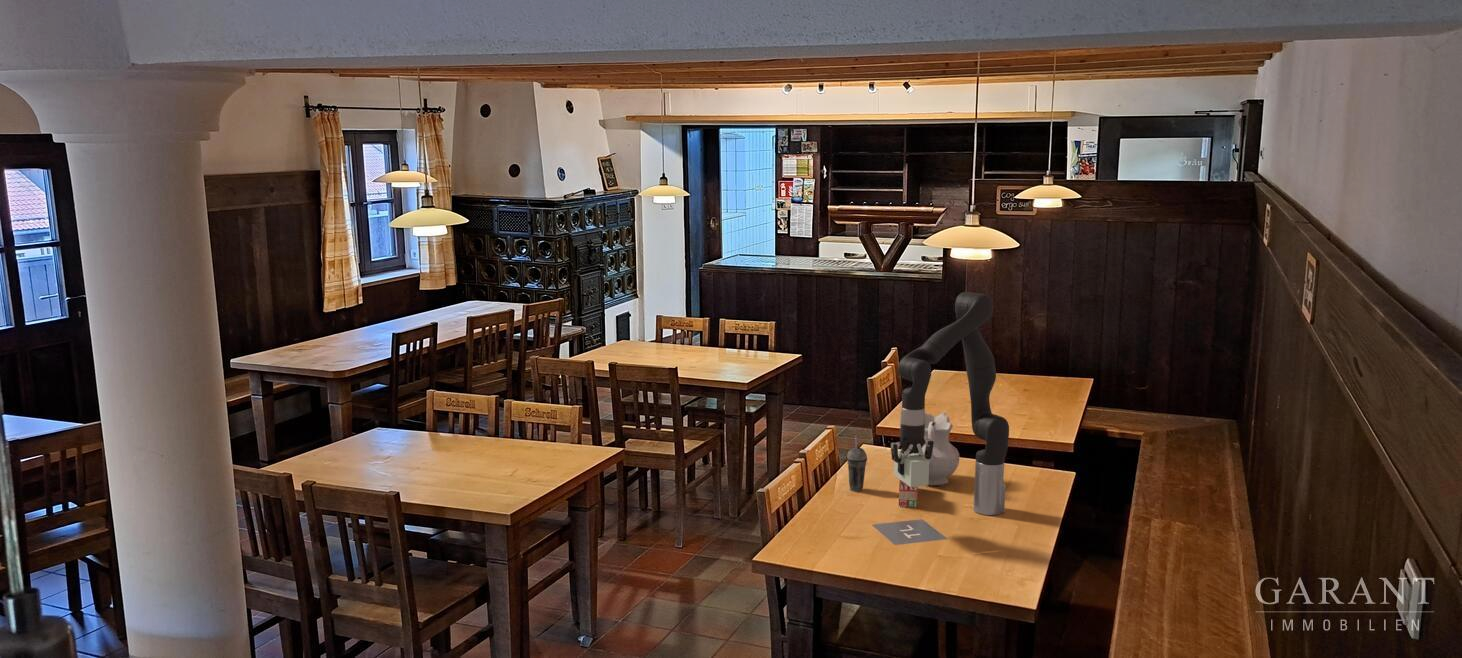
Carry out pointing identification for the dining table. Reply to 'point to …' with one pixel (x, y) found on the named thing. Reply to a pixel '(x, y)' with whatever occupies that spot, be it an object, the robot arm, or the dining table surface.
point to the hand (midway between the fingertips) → (911, 473)
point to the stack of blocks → (907, 495)
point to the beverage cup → (856, 467)
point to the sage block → (914, 470)
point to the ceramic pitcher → (940, 449)
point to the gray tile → (909, 532)
